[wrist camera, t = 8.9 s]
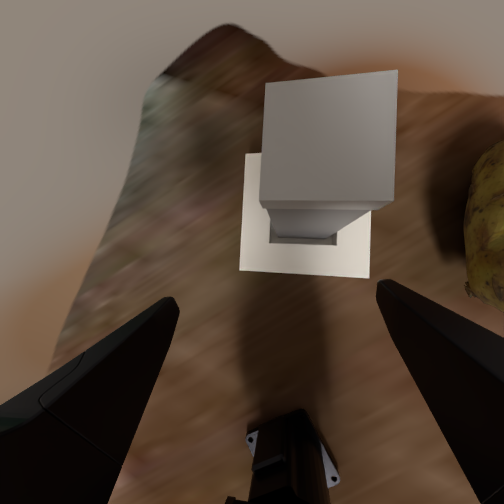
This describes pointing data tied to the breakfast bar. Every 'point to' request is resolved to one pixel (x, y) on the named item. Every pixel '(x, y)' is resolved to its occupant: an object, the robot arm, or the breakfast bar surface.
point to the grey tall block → (327, 151)
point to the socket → (298, 240)
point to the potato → (486, 228)
